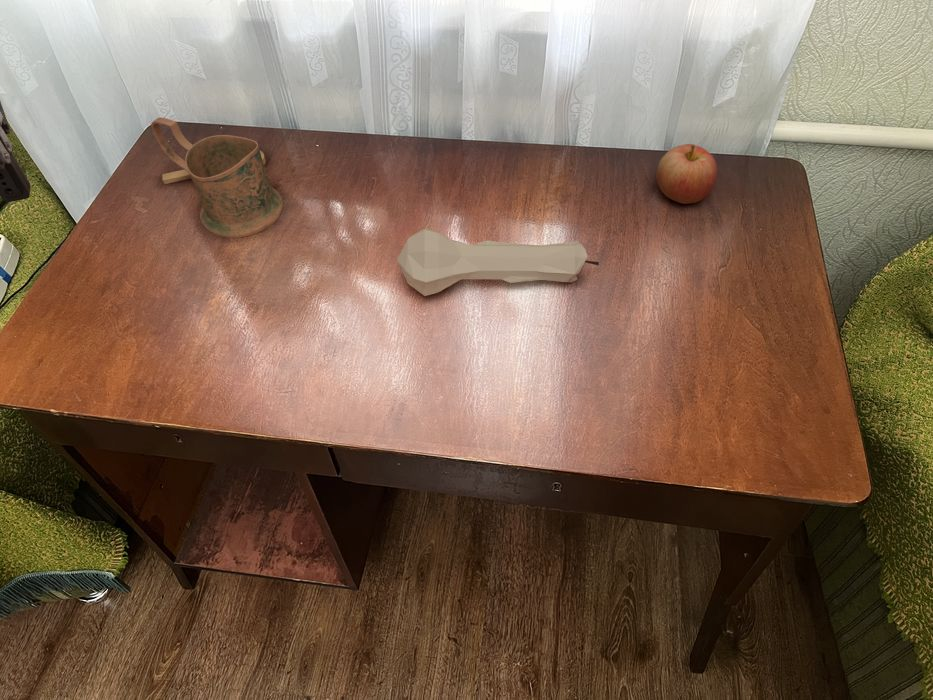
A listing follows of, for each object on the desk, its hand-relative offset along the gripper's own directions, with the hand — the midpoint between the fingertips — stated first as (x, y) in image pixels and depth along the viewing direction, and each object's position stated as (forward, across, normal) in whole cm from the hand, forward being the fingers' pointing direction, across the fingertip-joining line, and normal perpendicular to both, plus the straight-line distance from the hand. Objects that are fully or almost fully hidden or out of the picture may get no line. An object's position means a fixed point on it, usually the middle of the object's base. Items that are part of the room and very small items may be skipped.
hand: (18, 195), depth 61 cm
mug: (+25, -28, +14) cm, 40 cm away
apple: (+24, -7, +75) cm, 79 cm away
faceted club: (+25, +1, +45) cm, 52 cm away
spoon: (+25, -36, +14) cm, 46 cm away
